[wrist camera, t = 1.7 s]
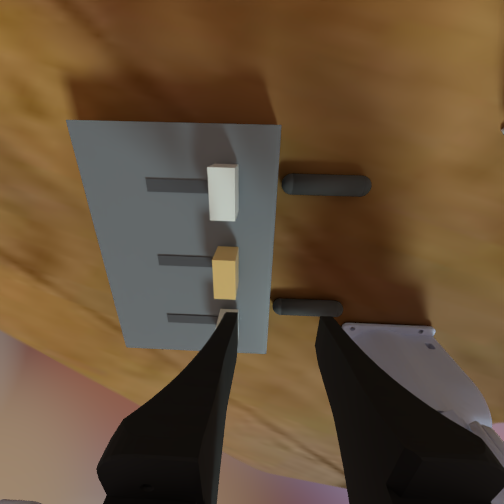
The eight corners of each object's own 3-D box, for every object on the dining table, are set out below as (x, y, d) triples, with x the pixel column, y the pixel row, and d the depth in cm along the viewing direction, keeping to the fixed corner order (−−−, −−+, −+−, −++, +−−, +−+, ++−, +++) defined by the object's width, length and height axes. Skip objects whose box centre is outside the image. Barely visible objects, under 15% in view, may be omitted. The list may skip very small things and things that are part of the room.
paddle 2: (238, 309, 21) (235, 328, 19) (238, 337, 22) (235, 358, 20) (220, 308, 21) (215, 328, 19) (221, 336, 22) (217, 357, 20)
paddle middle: (238, 246, 18) (235, 260, 16) (238, 282, 20) (235, 299, 18) (217, 246, 18) (212, 260, 16) (219, 281, 20) (214, 298, 18)
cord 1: (368, 174, 19) (377, 177, 18) (364, 194, 20) (372, 198, 18) (281, 172, 19) (283, 174, 18) (280, 192, 20) (281, 196, 19)
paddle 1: (238, 164, 16) (234, 167, 14) (238, 211, 17) (235, 221, 15) (214, 163, 16) (207, 167, 14) (216, 210, 17) (209, 220, 15)
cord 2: (341, 297, 24) (346, 307, 23) (338, 310, 25) (343, 320, 23) (272, 294, 24) (273, 304, 23) (271, 307, 25) (272, 317, 24)
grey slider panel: (278, 127, 18) (281, 124, 15) (265, 332, 26) (266, 354, 23) (95, 123, 18) (64, 119, 15) (140, 326, 27) (125, 348, 24)
